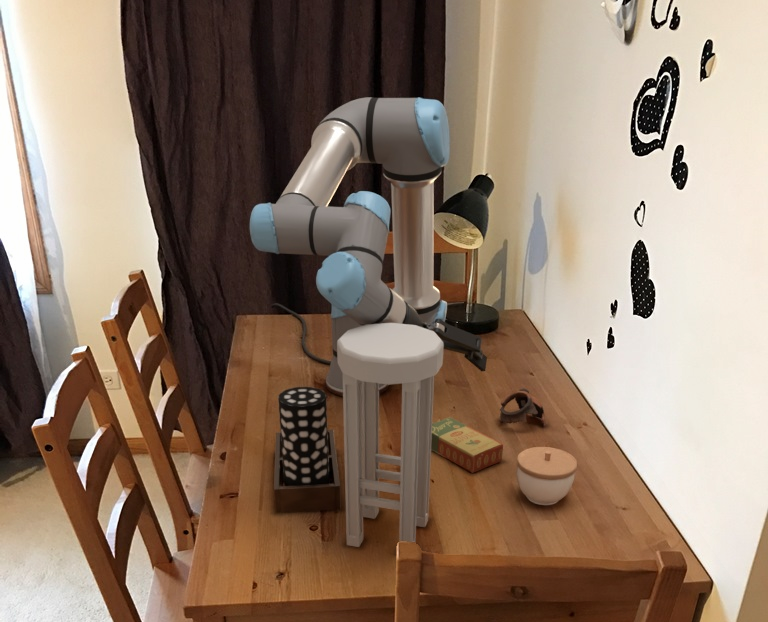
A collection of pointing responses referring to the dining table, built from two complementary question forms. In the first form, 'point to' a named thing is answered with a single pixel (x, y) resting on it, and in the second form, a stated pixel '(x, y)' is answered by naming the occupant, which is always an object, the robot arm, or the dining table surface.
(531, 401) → the broken clay pot
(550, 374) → the dining table surface
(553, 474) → the trinket box
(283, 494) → the open wooden box
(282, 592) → the dining table surface
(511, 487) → the dining table surface
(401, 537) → the stool
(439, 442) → the carton
